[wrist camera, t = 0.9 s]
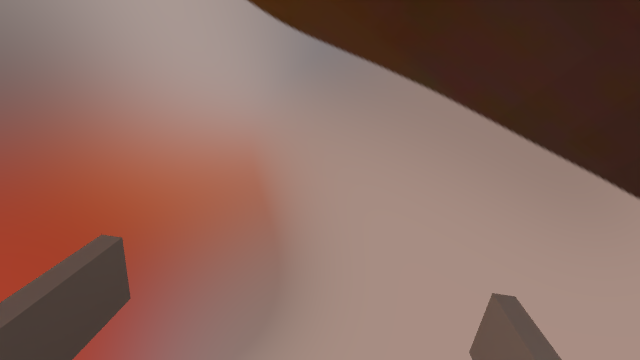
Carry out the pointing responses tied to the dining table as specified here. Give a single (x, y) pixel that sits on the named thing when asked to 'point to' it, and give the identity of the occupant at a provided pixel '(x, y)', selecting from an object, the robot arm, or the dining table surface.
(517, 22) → the dining table surface
